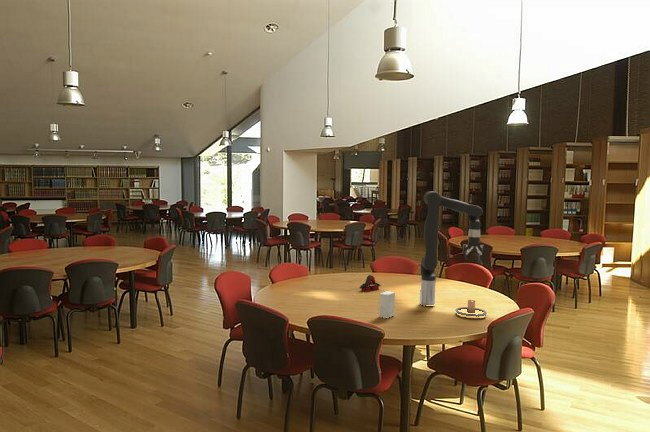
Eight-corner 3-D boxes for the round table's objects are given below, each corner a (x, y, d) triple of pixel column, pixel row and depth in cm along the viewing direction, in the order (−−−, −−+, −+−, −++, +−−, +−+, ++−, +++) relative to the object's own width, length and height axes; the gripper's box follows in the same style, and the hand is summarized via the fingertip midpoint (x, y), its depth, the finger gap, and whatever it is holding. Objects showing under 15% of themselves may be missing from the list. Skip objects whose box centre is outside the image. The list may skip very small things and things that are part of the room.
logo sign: (361, 292, 372) (362, 276, 371) (359, 291, 375) (359, 276, 374) (381, 289, 382) (381, 274, 381) (378, 288, 385) (378, 273, 384)
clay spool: (468, 315, 315) (468, 301, 314) (466, 313, 319) (467, 299, 318) (475, 315, 315) (476, 301, 314) (473, 313, 319) (474, 299, 318)
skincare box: (386, 314, 314) (387, 290, 313) (394, 316, 310) (395, 292, 308) (378, 317, 308) (379, 292, 306) (386, 319, 304) (387, 294, 302)
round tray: (459, 318, 308) (459, 314, 308) (452, 310, 326) (453, 306, 326) (489, 319, 308) (490, 315, 308) (481, 311, 326) (481, 307, 325)
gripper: (464, 236, 335) (463, 260, 336) (486, 237, 335) (485, 261, 336) (462, 235, 343) (461, 259, 344) (483, 235, 342) (482, 259, 344)
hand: (473, 260), depth 340 cm, fingers open, 8 cm apart
